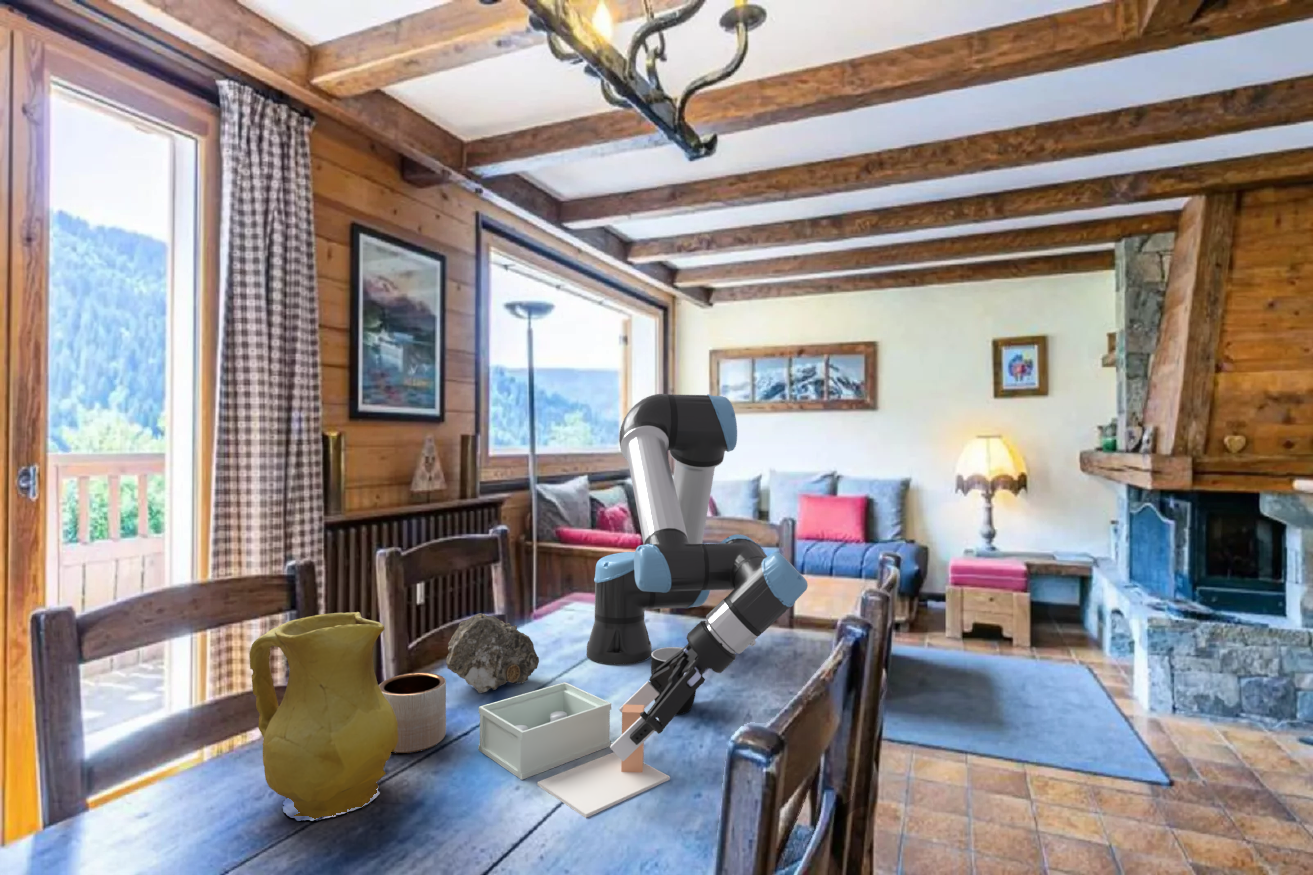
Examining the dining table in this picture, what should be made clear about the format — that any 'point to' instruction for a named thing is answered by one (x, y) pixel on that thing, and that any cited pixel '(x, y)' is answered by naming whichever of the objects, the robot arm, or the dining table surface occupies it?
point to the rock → (490, 653)
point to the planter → (417, 709)
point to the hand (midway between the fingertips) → (620, 733)
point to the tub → (544, 729)
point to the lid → (605, 777)
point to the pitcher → (324, 713)
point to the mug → (658, 659)
